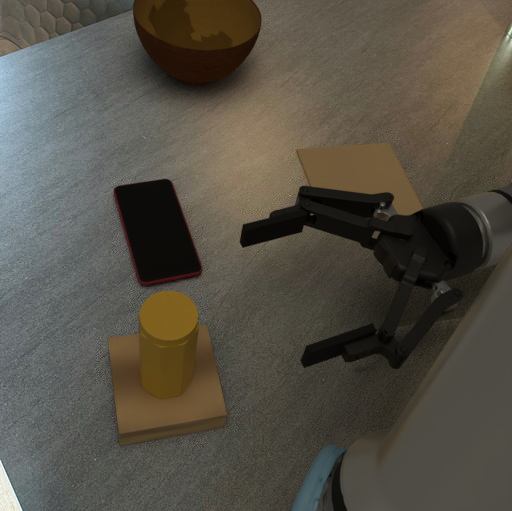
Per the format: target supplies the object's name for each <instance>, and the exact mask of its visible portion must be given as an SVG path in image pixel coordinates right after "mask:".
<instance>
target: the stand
mask: <svg viewBox="0 0 512 511" xmlns="http://www.w3.org/2000/svg"><path fill="white" fill-rule="evenodd" d="M107 346H108V356H109V364H110V372H111V373H110V374H111V380H112V390H113V398H114V407H115V416H116V423H117V432H118V440H119V442H118V443H119V446H120V447H122V446H129V445H135V444H139V443H144V442H151V441H156V440H161V439H166V438H171V437H172V438H173V437H177V436H184V435H187V434H194V433H199V432H205V431H211V430H216V429H222V428H225V426H226V422H227V418H228V412H227V406H226V403H225V402H226V401H225V399H224V393H223V390H222V389H223V388H222V385H221V380H220V376H219V372H218V367H217V363H216V358H215V353H214V349H213V345H212V340H211V336H210V332H209V327H208V324H207V323H206V324H205V323H204V324H199V332H198V339H197V347H196V355H195V363H194V371H193V379H192V382H191V383H190V384H189V386H188V387H187V388H186V389H185V391H184V392H183V393H182V395H181V396H178V397H172V398H166V399H158V398H156V397H155V396H153V395H152V394H150V393H149V392H147V391H146V390H144V389H143V388H142V384H141V377H140V369H139V333H133V334H125V335H119V336H111V337H107Z"/></svg>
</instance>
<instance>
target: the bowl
mask: <svg viewBox="0 0 512 511" xmlns="http://www.w3.org/2000/svg"><path fill="white" fill-rule="evenodd" d="M132 15H133V23H134V28H135V31H136V35H137V36H138V39H139V41H140V43H141V46H142V47H143V49H144V51H145V52H146V54H147V55H148V57H149V58H150V60H151V61H152V62H153V63H154V64H155V65H156V66H157V67H158V68H159V69H160V70H162V71H163V72H165V73H166V74H168V75H169V76H171V77H173V78H175V79H177V80H178V81H180V82H182V83H184V84H188V85H191V86H201V85H205V84H209V83H210V82H215V81H219V80H221V79H223V78H226V77H227V76H229V75H231V74H232V73H233V72H234V71H236V70H237V69H238V68H239V67H241V65H242V64H243V63H244V62H245V60H247V58H248V57H249V55H250V54H251V52H252V51H253V49H254V48H255V45H256V43H257V41H258V38H259V35H260V32H261V28H262V23H263V22H262V20H263V18H262V13H261V10H260V8H259V7H258V5H257V4H256V3H255V1H254V0H134V1H133V4H132Z"/></svg>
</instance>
